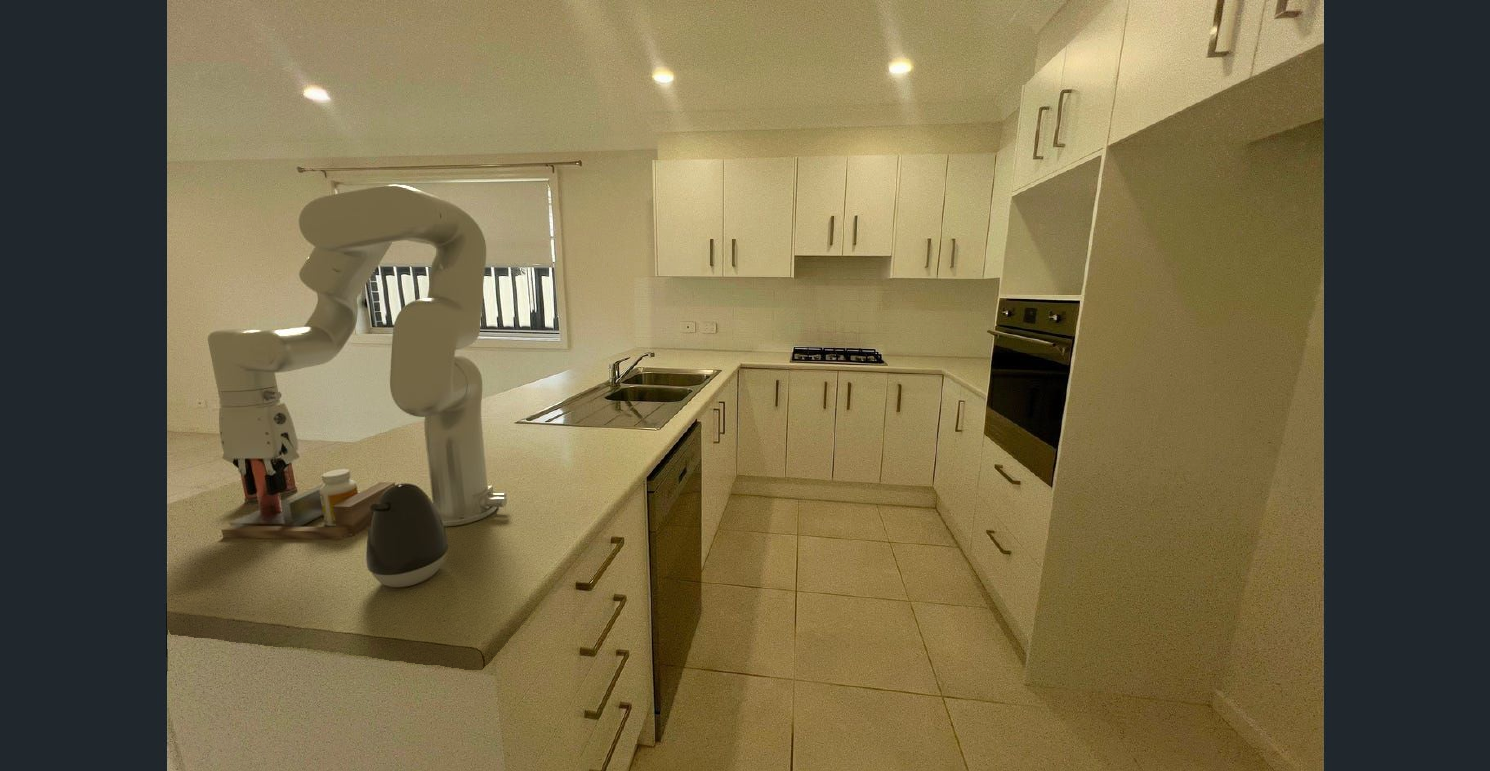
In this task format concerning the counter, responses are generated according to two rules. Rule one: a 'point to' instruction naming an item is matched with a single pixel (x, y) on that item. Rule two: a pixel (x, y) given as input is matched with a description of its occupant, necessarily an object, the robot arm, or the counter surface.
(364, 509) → the bench clamp
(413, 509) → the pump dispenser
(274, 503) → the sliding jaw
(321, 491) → the supplement bottle
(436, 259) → the robot arm
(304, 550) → the counter surface
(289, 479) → the lighter
